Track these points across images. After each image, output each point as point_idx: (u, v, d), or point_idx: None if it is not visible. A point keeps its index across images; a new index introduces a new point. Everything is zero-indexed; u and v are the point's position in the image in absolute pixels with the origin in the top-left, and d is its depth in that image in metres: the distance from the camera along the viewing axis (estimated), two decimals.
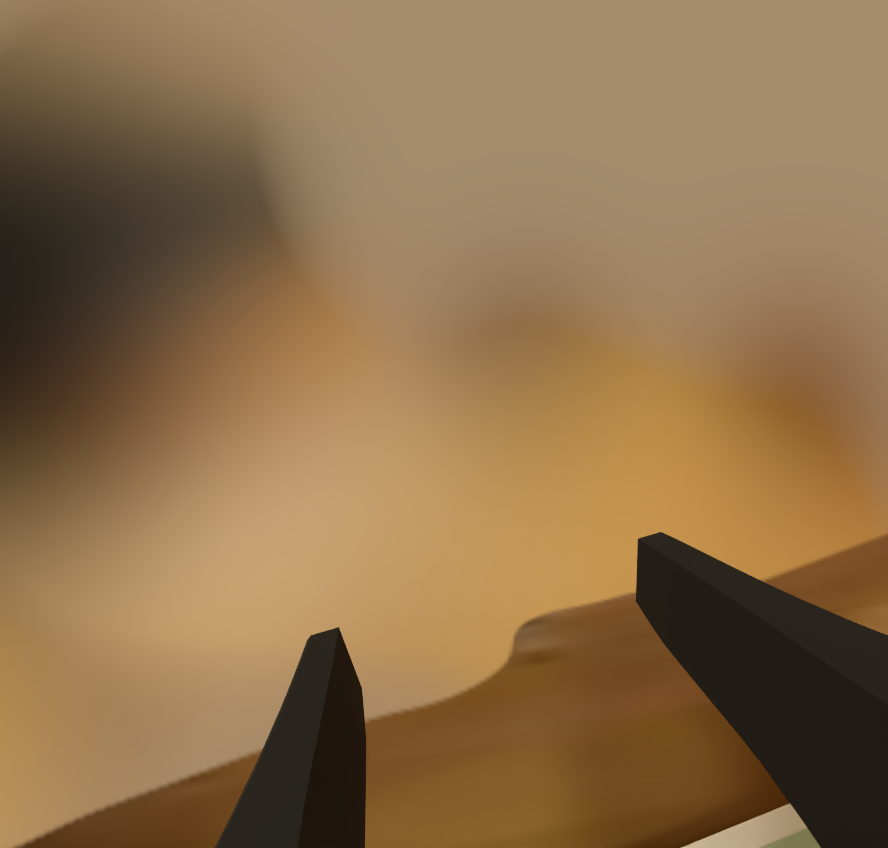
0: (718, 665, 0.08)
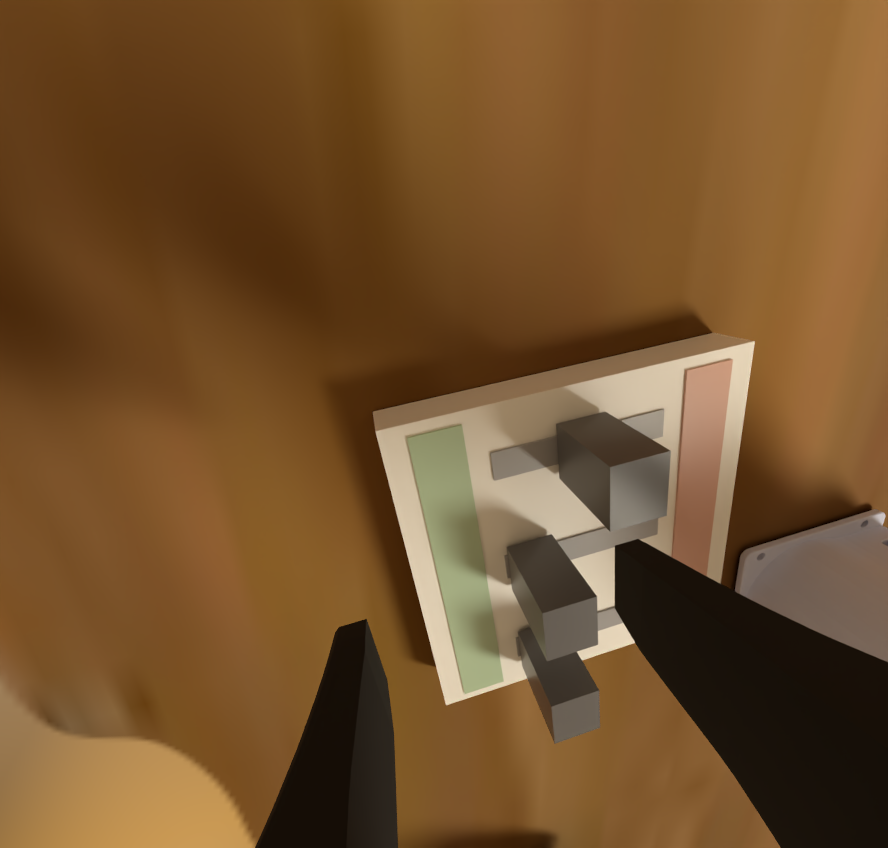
0: (691, 674, 0.08)
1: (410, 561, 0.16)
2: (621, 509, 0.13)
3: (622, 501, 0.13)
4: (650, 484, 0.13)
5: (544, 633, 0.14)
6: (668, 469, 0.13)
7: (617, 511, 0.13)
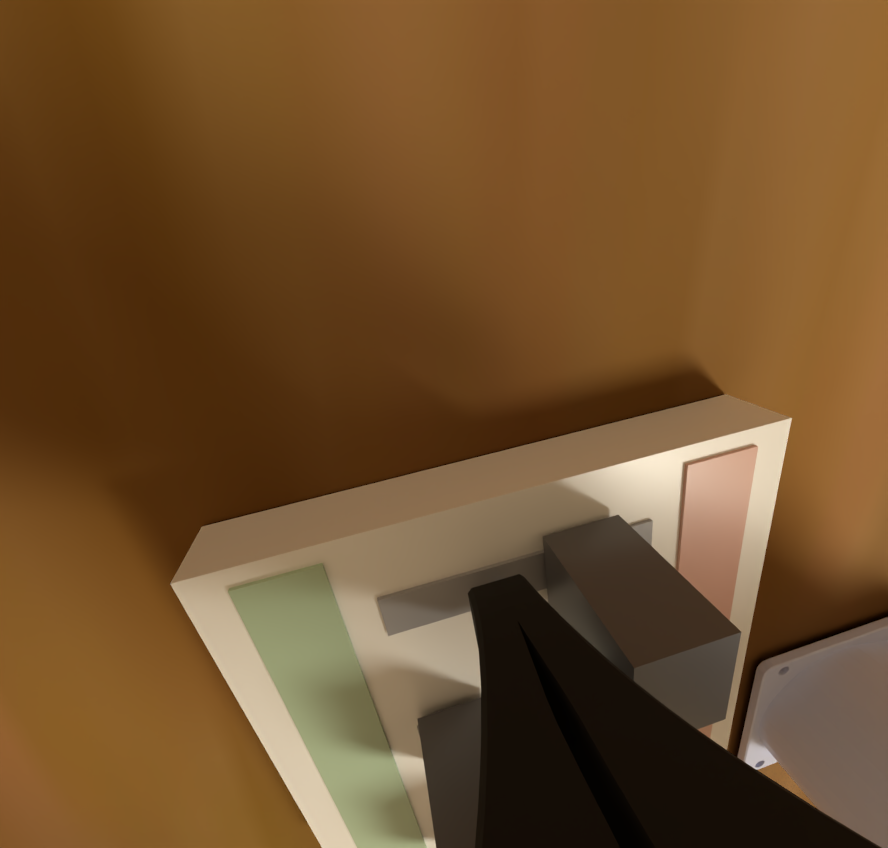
0: None
1: (267, 748, 0.11)
2: None
3: None
4: (702, 682, 0.07)
5: None
6: (734, 659, 0.07)
7: None
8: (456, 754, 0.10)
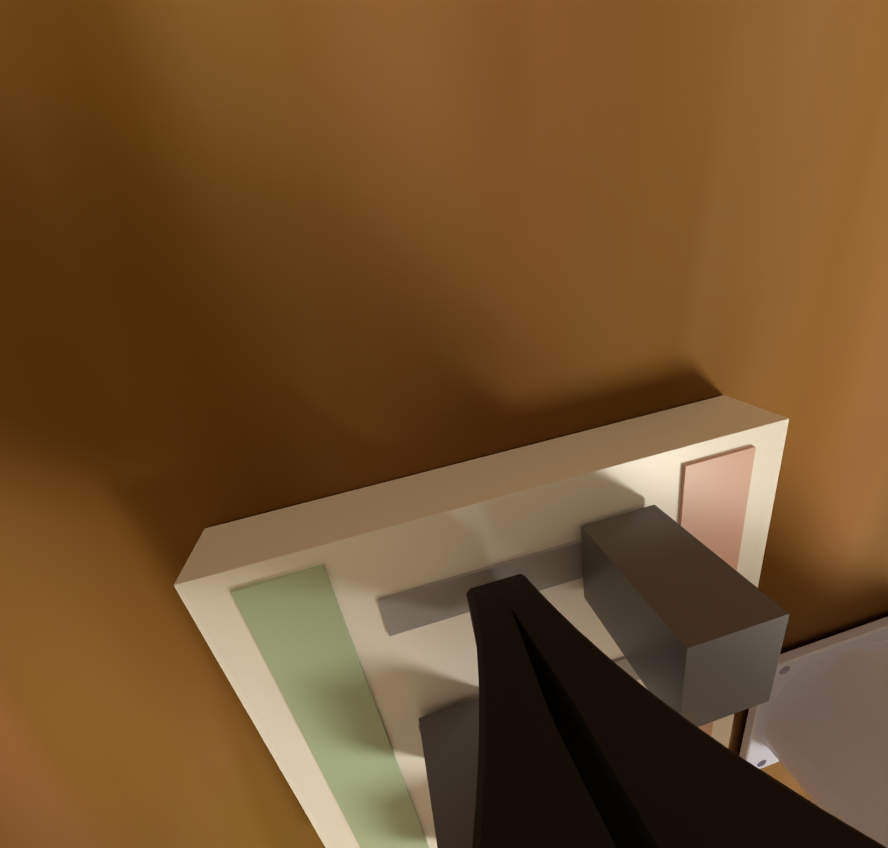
0: None
1: (270, 747, 0.11)
2: (699, 703, 0.08)
3: (702, 692, 0.07)
4: (749, 663, 0.07)
5: None
6: (781, 641, 0.07)
7: (692, 706, 0.08)
8: (457, 753, 0.10)
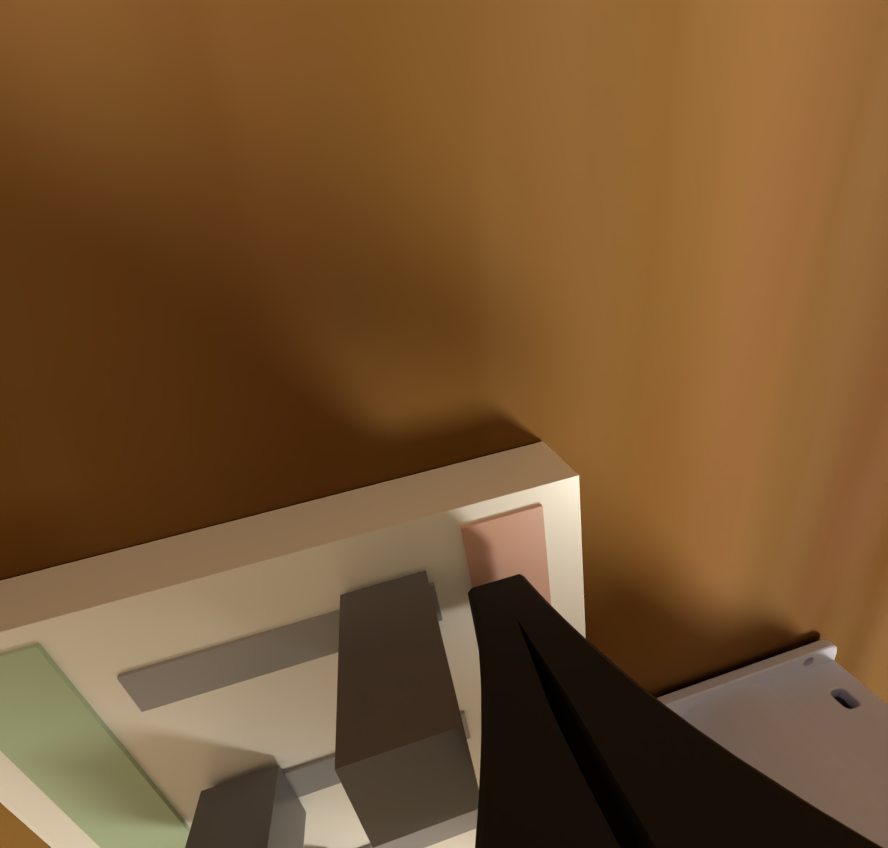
0: None
1: (31, 826, 0.10)
2: (384, 817, 0.07)
3: (382, 807, 0.07)
4: (434, 775, 0.07)
5: None
6: (465, 750, 0.07)
7: (377, 821, 0.07)
8: (221, 836, 0.10)
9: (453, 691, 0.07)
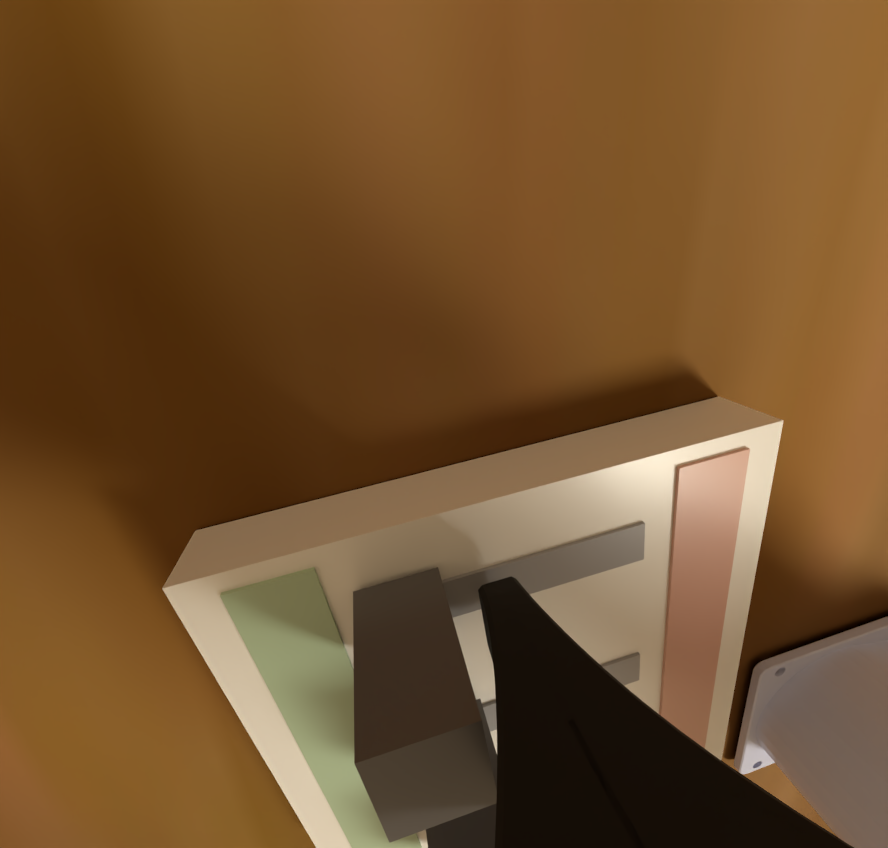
0: None
1: (261, 751, 0.11)
2: (402, 812, 0.07)
3: (400, 802, 0.07)
4: (451, 770, 0.07)
5: None
6: (484, 746, 0.07)
7: (394, 816, 0.07)
8: None
9: (470, 686, 0.07)
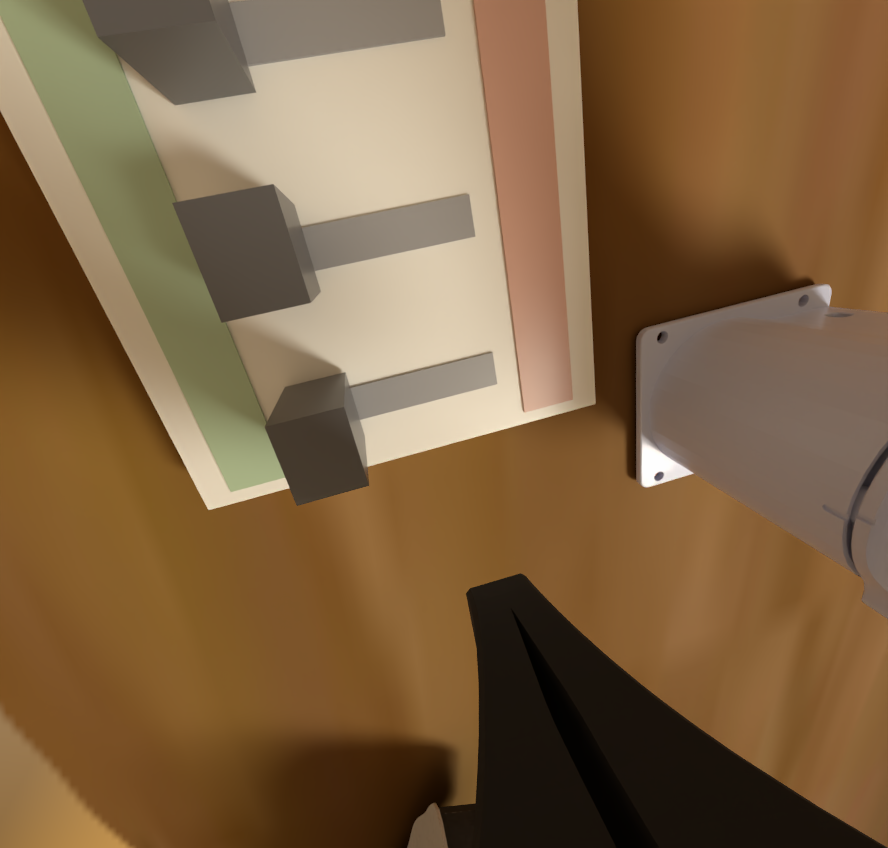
0: None
1: (64, 229, 0.11)
2: None
3: None
4: None
5: (195, 256, 0.09)
6: None
7: None
8: None
9: None
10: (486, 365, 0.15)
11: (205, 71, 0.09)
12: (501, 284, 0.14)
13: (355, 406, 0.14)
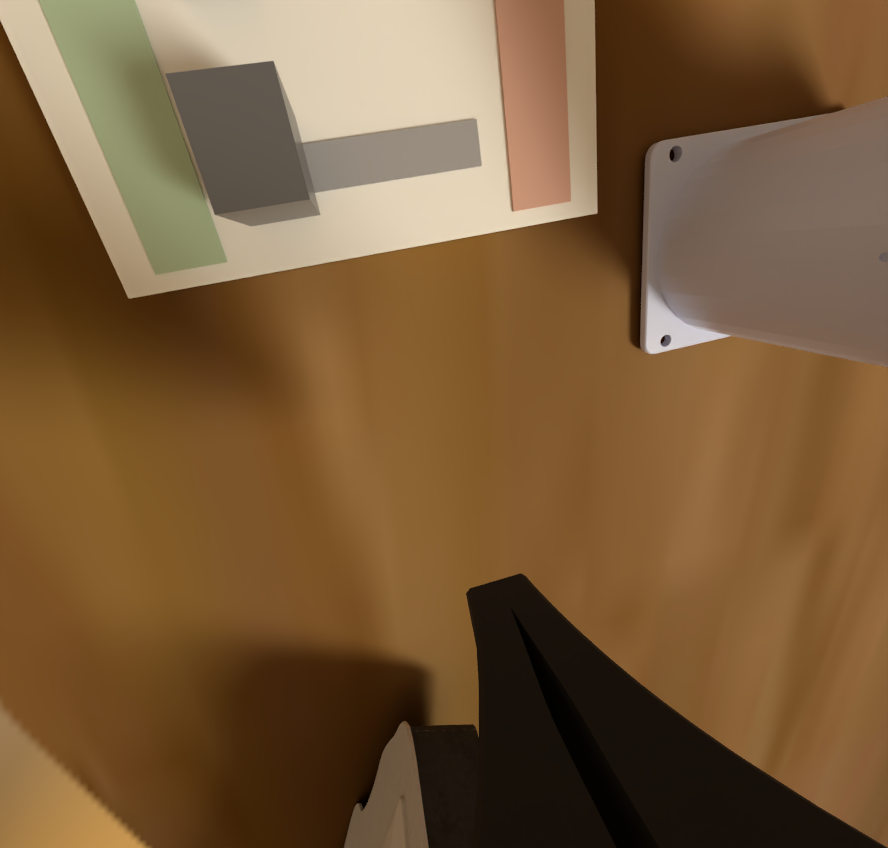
0: None
1: None
2: None
3: None
4: None
5: None
6: None
7: None
8: None
9: None
10: (469, 139, 0.12)
11: None
12: (488, 21, 0.11)
13: (308, 168, 0.12)
